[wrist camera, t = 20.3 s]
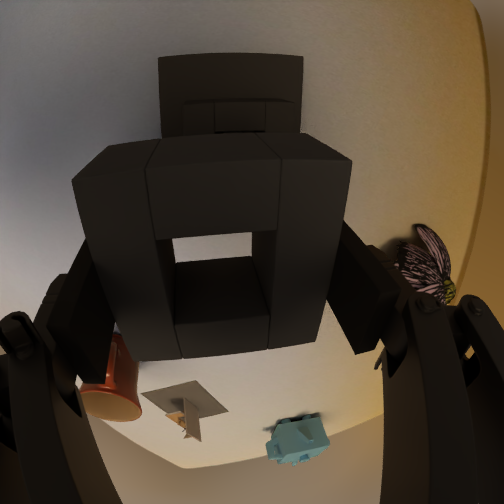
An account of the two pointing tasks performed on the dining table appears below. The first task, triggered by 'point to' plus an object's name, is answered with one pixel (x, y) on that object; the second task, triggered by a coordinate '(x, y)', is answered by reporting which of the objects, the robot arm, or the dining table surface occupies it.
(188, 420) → the architectural model
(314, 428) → the teapot
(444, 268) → the decorative flower
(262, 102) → the dark block with hole
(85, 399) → the mug
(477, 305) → the robot arm
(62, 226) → the dining table surface
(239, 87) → the base pad
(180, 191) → the grey square-holed block
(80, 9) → the dining table surface
